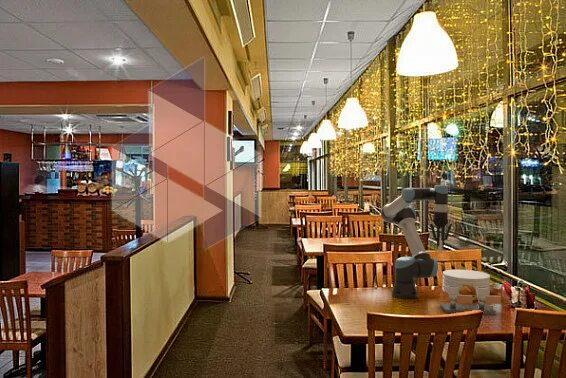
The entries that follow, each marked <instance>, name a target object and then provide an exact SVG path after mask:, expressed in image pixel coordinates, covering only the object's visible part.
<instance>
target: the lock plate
mask: <svg viewBox="0 0 566 378" xmlns="http://www.w3.org/2000/svg"><path fill="white" fill-rule="evenodd" d="M439 308H440V309H441V310H442V312H443V313H444V314H454V313H456V312H464V311H472V310H481V311H483V312H484V314H483V315H487V316H488V315H490V316H491V315H492V316H493V315H494V316H497V315H496V314H497V311H496V310H495V309H494V306H490V305H488V304H485V303H484V301H481V300H478V301H477V304H476V303H475V304H471V303H457V302H456V300H451V299H449V303H439Z"/></svg>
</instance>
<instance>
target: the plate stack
mask: <svg viewBox="0 0 566 378" xmlns="http://www.w3.org/2000/svg"><path fill="white" fill-rule="evenodd" d="M490 283H491V275H490V274H489V273H486V272H483V271H477V270H471V269H447V270H444V271H442V291H443V292H444V293H446V294H447V295H449V293H448V286H457V287H458V294H457V295H460V293H459V291H460V289H461V287H462V286H463V285H472V286H473V287H474V288H475V290H476V287H485V288H487V295H490V294H491V293H490V292H491V291H490V290H491V288H490V287H491V284H490Z"/></svg>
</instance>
